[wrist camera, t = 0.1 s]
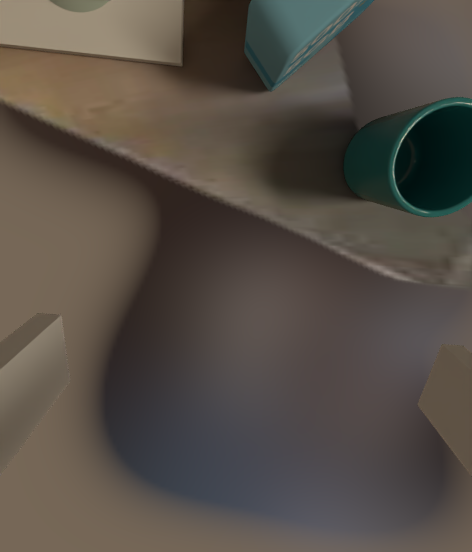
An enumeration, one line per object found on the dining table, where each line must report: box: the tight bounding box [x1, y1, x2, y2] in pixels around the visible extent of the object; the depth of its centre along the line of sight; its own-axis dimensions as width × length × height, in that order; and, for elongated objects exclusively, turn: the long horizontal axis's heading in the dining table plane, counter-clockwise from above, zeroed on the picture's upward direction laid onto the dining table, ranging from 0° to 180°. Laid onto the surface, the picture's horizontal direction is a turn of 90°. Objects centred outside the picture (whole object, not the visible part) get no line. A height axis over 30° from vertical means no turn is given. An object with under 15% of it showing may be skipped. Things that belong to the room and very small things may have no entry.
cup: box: [343, 97, 472, 217], centre depth 29 cm, size 9×12×11 cm
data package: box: [244, 0, 374, 92], centre depth 24 cm, size 12×4×12 cm, turn 128°
